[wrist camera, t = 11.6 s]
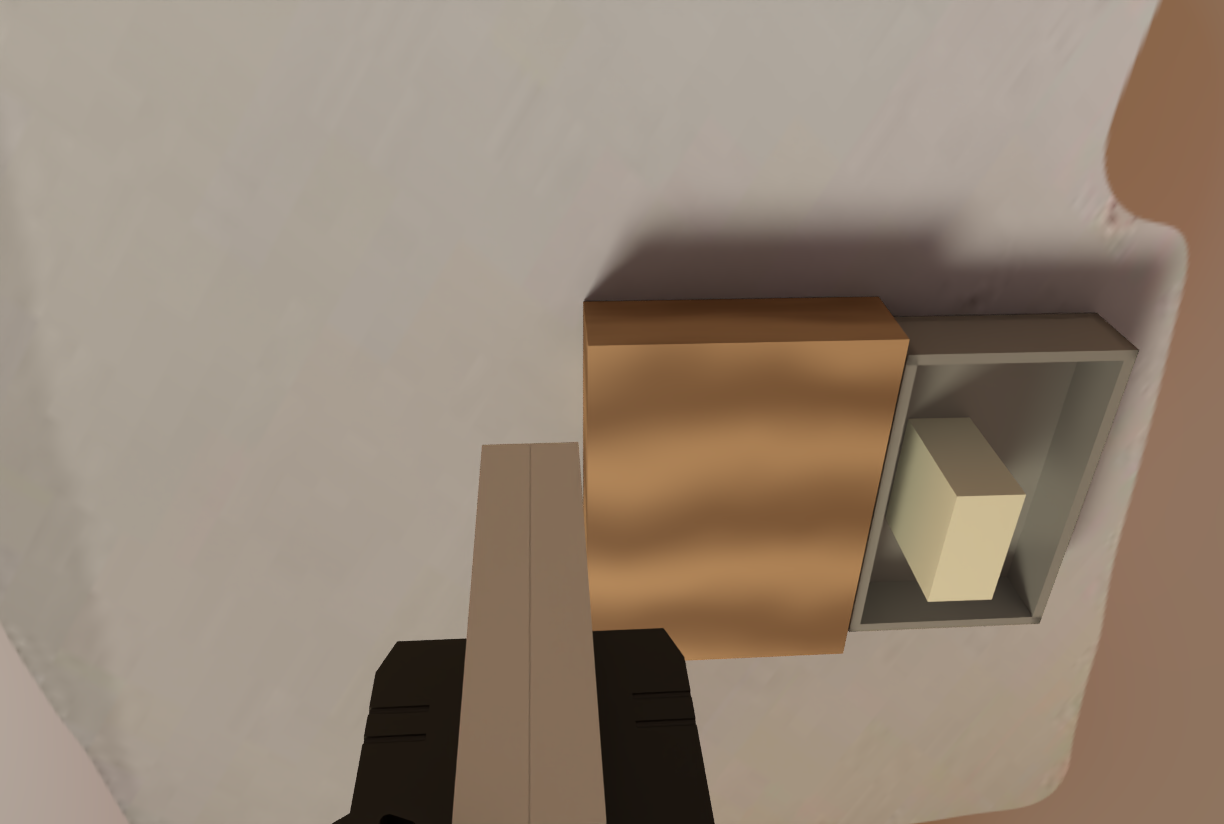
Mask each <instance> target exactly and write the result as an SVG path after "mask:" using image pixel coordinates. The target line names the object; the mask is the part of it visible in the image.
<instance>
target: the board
mask: <svg viewBox="0 0 1224 824" xmlns="http://www.w3.org/2000/svg"><path fill="white" fill-rule="evenodd" d="M909 340H910V339H909V338H908V336H907V335H906V334H905V332H904V331H903V330H902V328H901V327H900V325H899V324H898V323H897V321H896V320H895V319H894V317H893V316H892V314H891V313H890V312H889V310H888V309H887V308H886V306H885V305H884V303H883V302H882V301H881V299H880V298H879V297H828V298H768V299H709V300H649V301H590V302H583V513H584V526H585V540H586V553H587V567H588V580H589V594H590V607H591V621H592V631H603V630H627V629H650V628H664V629H665V631H666V632H667V633H668V635H669V636H670V638H671V639H672V640H673V642H674V643H675V644H676V646H677V647H678V649H679V650H680V651H681V653H682V654H683V656H684V658H685V660H705V659H727V658H750V657H773V656H795V655H818V654H840V653H843V651H844V646H845V641H846V636H847V632H848V627H849V622H850V618H851V613H852V608H853V604H854V599H855V594H856V589H857V585H858V580H859V575H860V571H861V566H862V561H863V557H864V552H865V547H866V542H867V538H868V533H869V528H870V524H871V519H872V514H873V509H874V505H875V500H876V495H877V491H878V486H879V481H880V477H881V472H882V467H883V462H884V458H885V453H886V448H887V444H888V439H889V434H890V430H891V425H892V420H893V415H894V411H895V406H896V401H897V397H898V392H899V387H900V382H901V378H902V373H903V368H904V364H905V359H906V354H907V350H908V345H909Z"/></svg>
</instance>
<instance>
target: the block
mask: <svg viewBox="0 0 1224 824" xmlns="http://www.w3.org/2000/svg"><path fill="white" fill-rule="evenodd" d="M1025 497H1026V494H1025V492H1024V491H1023V490H1022V488H1021V487H1020V485H1019V484H1018V483H1017V481H1016V480H1015V479H1014V477H1013V476H1012V475H1011V473H1010V472H1009V470H1008V469H1007V468H1006V466H1005V465H1004V464H1003V462H1002V461H1001V459H1000V458H999V457H998V455H997V454H996V453H995V451H994V450H993V449H992V447H991V446H990V444H989V443H988V442H987V440H986V439H985V438H984V436H983V435H982V434H981V432H980V431H979V429H978V428H977V427H976V425H975V424H974V423H973V421H972V420H971V419H970V417H966V418H920V419H908V422H907V426H906V431H905V435H904V439H903V444H902V448H901V452H900V457H899V461H898V465H897V470H896V474H895V478H894V483H893V487H892V492H891V496H890V500H889V505H888V509H887V513H886V520H887V522H888V524H889V526H890V528H891V530H892V532H893V534H894V536H895V538H896V540H897V542H898V544H899V546H900V548H901V550H902V552H903V554H904V556H905V558H906V560H907V562H908V564H909V566H910V568H911V570H912V572H913V574H914V576H915V578H916V580H917V582H918V583H919V585H920V587H921V589H922V591H923V593H924V595H925V597H926V599H927V601H928V602H936V601H963V600H991V599H992V597H993V594H994V591H995V588H996V585H997V582H998V579H999V576H1000V573H1001V570H1002V567H1003V564H1004V561H1005V558H1006V555H1007V552H1008V549H1009V545H1010V542H1011V539H1012V536H1013V533H1014V530H1015V527H1016V524H1017V521H1018V518H1019V515H1020V512H1021V509H1022V506H1023V503H1024V500H1025Z"/></svg>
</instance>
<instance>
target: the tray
mask: <svg viewBox="0 0 1224 824" xmlns="http://www.w3.org/2000/svg"><path fill="white" fill-rule="evenodd" d="M894 319H895V320H896V321H897V323H898V324H899V325H900V327H901V328H902V330H903V331H904V332H905V334H906V335H907V336H908V338H909V339H910V340H909V345H908V350H907V354H906V359H905V364H904V368H903V373H902V378H901V382H900V387H899V392H898V397H897V401H896V406H895V411H894V415H893V420H892V425H891V430H890V434H889V439H888V444H887V448H886V453H885V458H884V462H883V467H882V472H881V477H880V481H879V486H878V491H877V495H876V500H875V505H874V509H873V514H872V519H871V524H870V528H869V533H868V538H867V542H866V547H865V552H864V557H863V561H862V566H861V571H860V575H859V580H858V585H857V589H856V594H855V599H854V604H853V608H852V613H851V618H850V622H849V627H848V631H849V632H856V631H879V630H902V629H926V628H949V627H973V626H996V625H1020V624H1039V623H1040V620H1041V618H1042V615H1043V612H1044V609H1045V607H1046V604H1047V601H1048V598H1049V596H1050V593H1051V590H1052V588H1053V585H1054V582H1055V579H1056V577H1057V574H1058V571H1059V568H1060V566H1061V563H1062V560H1063V557H1064V555H1065V552H1066V549H1067V546H1068V544H1069V541H1070V538H1071V535H1072V533H1073V530H1074V527H1075V524H1076V522H1077V519H1078V516H1079V513H1080V511H1081V508H1082V505H1083V502H1084V500H1085V497H1086V494H1087V492H1088V489H1089V486H1090V483H1091V481H1092V478H1093V475H1094V472H1095V470H1096V467H1097V464H1098V461H1099V459H1100V456H1101V453H1102V450H1103V448H1104V445H1105V442H1106V439H1107V437H1108V434H1109V431H1110V428H1111V426H1112V423H1113V420H1114V417H1115V415H1116V412H1117V409H1118V406H1119V404H1120V401H1121V398H1122V396H1123V393H1124V390H1125V387H1126V385H1127V382H1128V379H1129V376H1130V374H1131V371H1132V368H1133V365H1134V363H1135V360H1136V357H1137V354H1138V352H1139V350H1138V349H1137V348H1136V347H1135V346H1134V345H1133V344H1132V343H1130V342H1129V341H1128V340H1127V339H1126V338H1125V337H1124V336H1122V335H1121V334H1120V333H1119V332H1118V331H1117V330H1116V329H1114V328H1113V327H1112V326H1111V325H1110V324H1109V323H1108V322H1106V321H1105V320H1104V319H1103V318H1102V317H1101V316H1100V315H1098V314H1097V313H1069V314H1015V315H960V316H906V317H894ZM966 417H970V419H971V420H972V421H973V423H974V424H975V425H976V427H977V428H978V429H979V431H980V432H981V434H982V435H983V436H984V438H985V439H986V440H987V442H988V443H989V444H990V446H991V447H992V449H993V450H994V451H995V453H996V454H997V455H998V457H999V458H1000V459H1001V461H1002V462H1003V464H1004V465H1005V466H1006V468H1007V469H1008V470H1009V472H1010V473H1011V475H1012V476H1013V477H1014V479H1015V480H1016V481H1017V483H1018V484H1019V485H1020V487H1021V488H1022V490H1023V491H1024V492H1025V494H1026V497H1025V500H1024V503H1023V506H1022V509H1021V512H1020V515H1019V518H1018V521H1017V524H1016V527H1015V530H1014V533H1013V536H1012V539H1011V542H1010V545H1009V549H1008V552H1007V555H1006V558H1005V561H1004V564H1003V567H1002V570H1001V573H1000V576H999V579H998V582H997V585H996V588H995V591H994V594H993V597H992V599H991V600H963V601H936V602H928V601H927V599H926V597H925V595H924V593H923V591H922V589H921V587H920V585H919V583H918V582H917V580H916V578H915V576H914V574H913V572H912V570H911V568H910V566H909V564H908V562H907V560H906V558H905V556H904V554H903V552H902V550H901V548H900V546H899V544H898V542H897V540H896V538H895V536H894V534H893V532H892V530H891V528H890V526H889V524H888V522H887V520H886V513H887V509H888V505H889V500H890V496H891V492H892V487H893V483H894V478H895V474H896V470H897V465H898V461H899V457H900V452H901V448H902V444H903V439H904V435H905V431H906V426H907V422H908V419H920V418H966Z"/></svg>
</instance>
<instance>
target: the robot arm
mask: <svg viewBox="0 0 1224 824" xmlns="http://www.w3.org/2000/svg"><path fill="white" fill-rule="evenodd" d="M332 824H715V823H714V818H713V812H712V807H711V801H710V796H709V790H708V785H707V779H706V774H705V768H704V763H703V757H702V752H701V746H700V741H699V735H698V730H697V725H696V722H695V713H694V708H693V702H692V697H691V695H690V685H689V680H688V674H687V669H686V663H685V658H684V656H683V654H682V653H681V651H680V650H679V649H678V647H677V646H676V644H675V643H674V642H673V640H672V639H671V638H670V636H669V635H668V633H667V632H666V631H665V629H664V628H650V629H627V630H603V631H592V621H591V607H590V594H589V580H588V567H587V553H586V540H585V526H584V513H583V499H582V486H581V472H580V459H579V445H578V442H567V443H532V444H496V445H482V452H481V465H480V477H479V490H478V503H477V515H476V528H475V540H474V553H473V565H472V578H471V590H470V603H469V616H468V628H467V639H444V640H421V641H398V642H397V643H396V644H395V645H394V647H393V648H392V650H391V651H390V653H389V654H388V656H387V657H386V658H385V660H384V661H383V663H382V664H381V666H380V667H379V669H378V670H377V671H376V673H375V679H374V684H373V690H372V695H371V701H370V706H369V715H368V717H367V723H366V728H365V734H364V744H363V745H362V750H361V755H360V761H359V766H358V772H357V777H356V783H355V788H354V794H353V799H352V805H351V810H350V813H349V814H348V815H346V816H344V817H342V818H341V819H339V820H337V821H336V822H334V823H332Z"/></svg>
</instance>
